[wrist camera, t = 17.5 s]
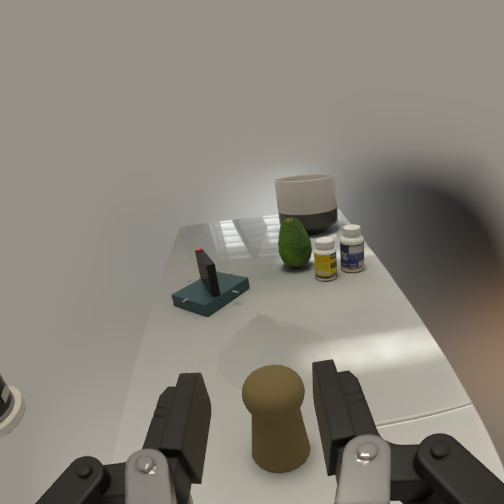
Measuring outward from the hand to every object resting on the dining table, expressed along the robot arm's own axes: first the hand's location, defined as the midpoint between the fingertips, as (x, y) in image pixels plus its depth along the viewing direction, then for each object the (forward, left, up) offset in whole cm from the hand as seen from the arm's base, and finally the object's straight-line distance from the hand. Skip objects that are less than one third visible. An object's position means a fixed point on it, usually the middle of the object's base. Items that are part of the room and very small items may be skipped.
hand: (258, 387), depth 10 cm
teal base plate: (+32, +38, -20) cm, 54 cm away
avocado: (+52, +29, -20) cm, 63 cm away
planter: (+81, +40, -20) cm, 93 cm away
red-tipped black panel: (+32, +38, -17) cm, 53 cm away
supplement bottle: (+49, +20, -20) cm, 57 cm away
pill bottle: (+55, +16, -20) cm, 61 cm away
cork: (+8, +6, -20) cm, 23 cm away
